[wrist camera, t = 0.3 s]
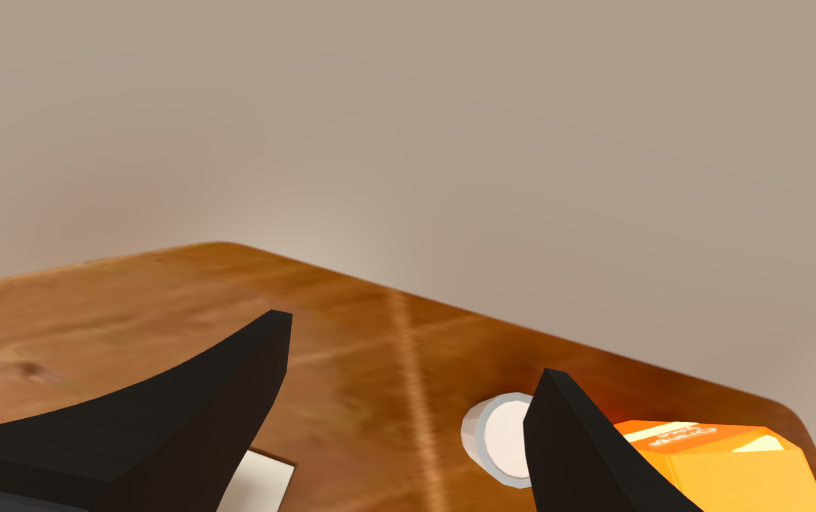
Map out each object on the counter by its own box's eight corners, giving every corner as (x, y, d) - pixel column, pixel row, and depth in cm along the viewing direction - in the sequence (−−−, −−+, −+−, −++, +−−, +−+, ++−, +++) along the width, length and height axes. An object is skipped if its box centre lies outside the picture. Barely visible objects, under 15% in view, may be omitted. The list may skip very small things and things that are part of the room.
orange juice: (590, 544, 39) (821, 673, 20) (559, 437, 41) (739, 464, 23) (666, 520, 40) (948, 619, 22) (632, 418, 43) (858, 429, 24)
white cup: (442, 409, 41) (462, 410, 34) (509, 383, 42) (539, 379, 36) (470, 487, 39) (496, 504, 32) (538, 457, 41) (576, 467, 34)
